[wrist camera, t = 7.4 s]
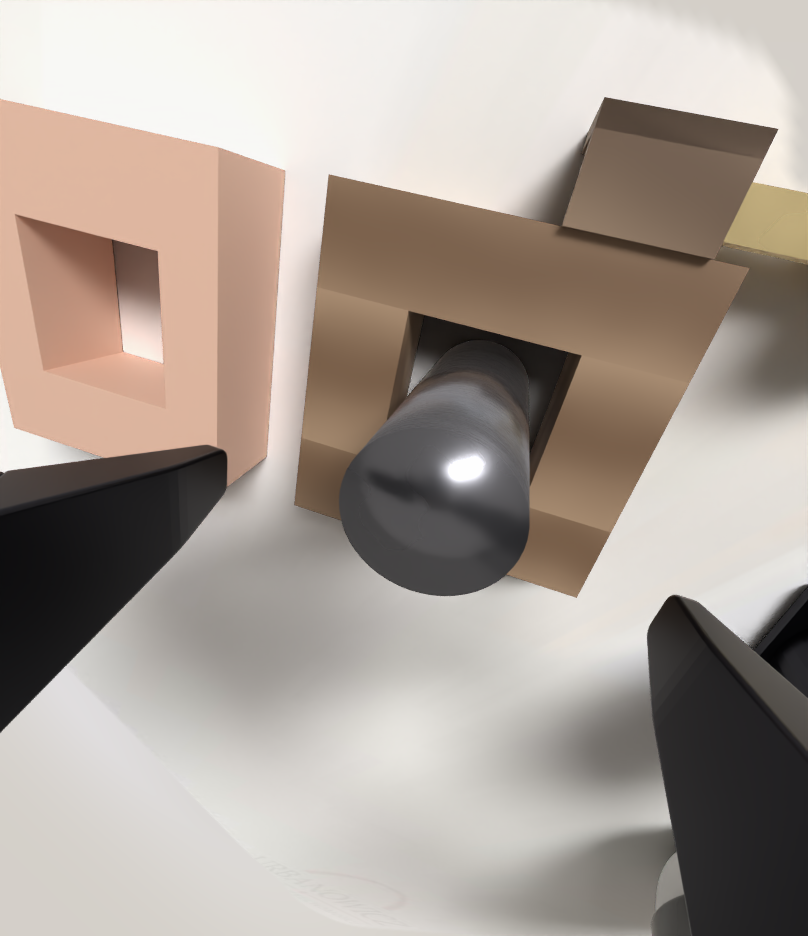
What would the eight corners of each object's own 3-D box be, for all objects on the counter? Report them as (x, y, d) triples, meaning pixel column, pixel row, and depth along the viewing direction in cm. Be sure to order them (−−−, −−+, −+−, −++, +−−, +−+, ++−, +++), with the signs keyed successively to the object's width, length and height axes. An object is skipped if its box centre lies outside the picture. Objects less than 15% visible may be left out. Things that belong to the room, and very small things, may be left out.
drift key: (924, 325, 14) (1076, 352, 10) (564, 243, 15) (576, 239, 11) (1006, 214, 12) (1221, 195, 8) (601, 135, 14) (628, 89, 10)
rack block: (266, 456, 22) (216, 495, 18) (91, 401, 23) (14, 427, 20) (285, 170, 16) (218, 147, 13) (53, 118, 18) (-65, 85, 14)
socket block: (570, 552, 20) (577, 602, 17) (323, 474, 22) (291, 508, 19) (759, 163, 13) (824, 137, 10) (375, 88, 15) (337, 48, 12)
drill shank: (510, 448, 19) (494, 618, 10) (419, 422, 19) (328, 562, 10) (544, 355, 17) (560, 463, 8) (442, 328, 17) (354, 402, 9)
